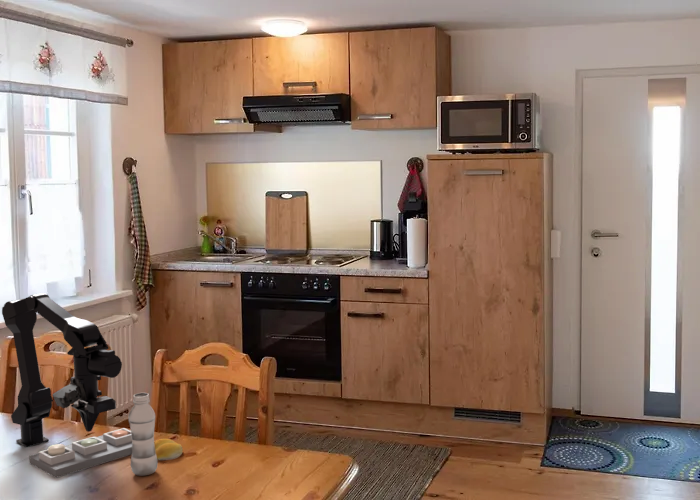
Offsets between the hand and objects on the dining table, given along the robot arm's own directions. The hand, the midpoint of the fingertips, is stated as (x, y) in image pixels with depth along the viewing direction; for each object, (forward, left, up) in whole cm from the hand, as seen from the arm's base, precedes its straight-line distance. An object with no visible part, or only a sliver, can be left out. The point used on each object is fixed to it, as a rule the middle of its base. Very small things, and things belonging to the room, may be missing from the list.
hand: (88, 431), depth 217 cm
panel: (0, 0, -7) cm, 7 cm away
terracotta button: (0, +9, -5) cm, 10 cm away
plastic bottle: (+21, +3, -7) cm, 22 cm away
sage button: (0, 0, -5) cm, 5 cm away
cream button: (0, -9, -4) cm, 10 cm away
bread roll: (+14, +14, -7) cm, 21 cm away
